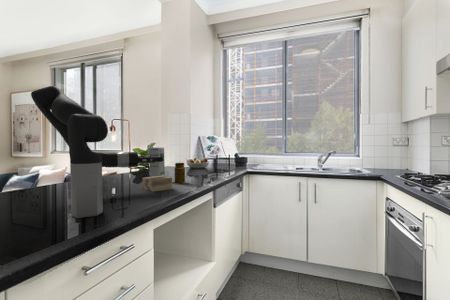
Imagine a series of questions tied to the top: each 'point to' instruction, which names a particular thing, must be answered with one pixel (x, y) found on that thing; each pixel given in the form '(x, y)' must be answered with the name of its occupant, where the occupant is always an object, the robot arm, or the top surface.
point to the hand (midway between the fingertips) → (160, 158)
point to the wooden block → (156, 183)
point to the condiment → (179, 173)
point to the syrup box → (156, 167)
